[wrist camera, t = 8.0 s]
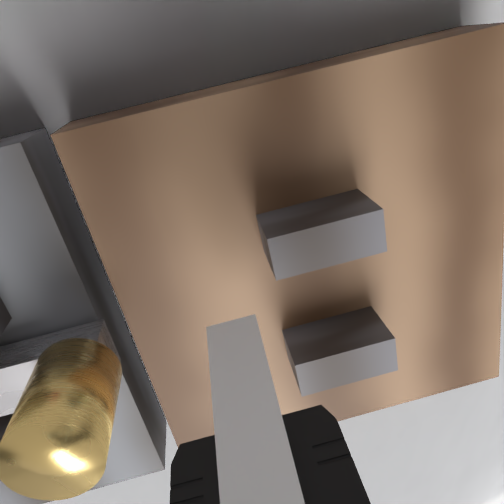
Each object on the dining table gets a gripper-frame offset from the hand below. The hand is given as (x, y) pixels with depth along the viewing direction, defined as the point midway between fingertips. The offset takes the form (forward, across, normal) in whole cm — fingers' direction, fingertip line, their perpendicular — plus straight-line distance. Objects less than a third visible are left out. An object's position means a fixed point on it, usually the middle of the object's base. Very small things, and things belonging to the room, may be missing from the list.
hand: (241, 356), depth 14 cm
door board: (+8, -1, -1) cm, 8 cm away
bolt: (+4, -9, -1) cm, 10 cm away
